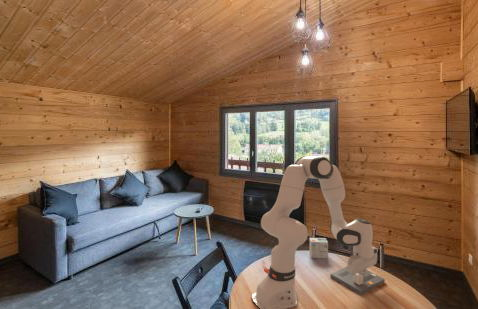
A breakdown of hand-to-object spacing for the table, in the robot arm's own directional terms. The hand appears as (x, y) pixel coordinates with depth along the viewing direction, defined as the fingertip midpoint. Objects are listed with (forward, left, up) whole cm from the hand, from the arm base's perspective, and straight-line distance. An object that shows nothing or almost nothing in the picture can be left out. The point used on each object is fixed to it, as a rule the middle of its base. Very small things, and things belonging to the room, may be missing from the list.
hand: (361, 276), depth 130 cm
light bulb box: (+5, +33, -5) cm, 34 cm away
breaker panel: (+2, +4, -4) cm, 6 cm away
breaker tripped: (-3, 0, -2) cm, 4 cm away
